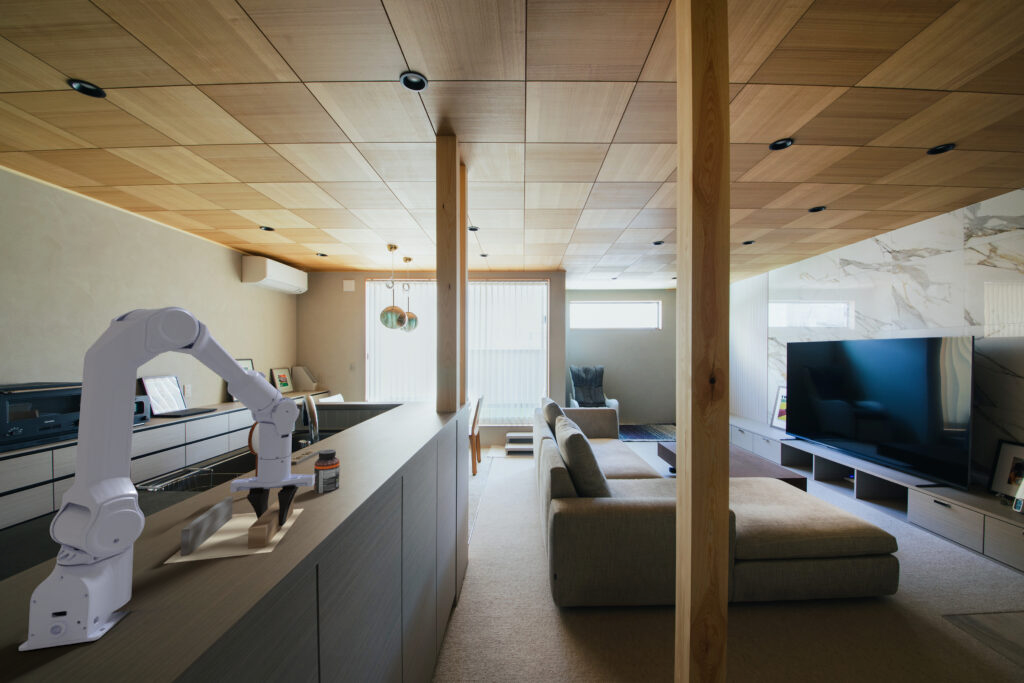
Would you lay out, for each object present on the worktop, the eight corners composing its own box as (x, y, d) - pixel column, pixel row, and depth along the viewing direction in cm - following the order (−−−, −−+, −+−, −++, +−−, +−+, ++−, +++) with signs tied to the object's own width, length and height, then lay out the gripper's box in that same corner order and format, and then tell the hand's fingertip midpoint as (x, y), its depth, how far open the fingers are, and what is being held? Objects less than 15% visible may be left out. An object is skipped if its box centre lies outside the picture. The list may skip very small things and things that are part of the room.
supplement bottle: (314, 492, 101) (315, 449, 102) (338, 489, 104) (339, 447, 104) (313, 500, 96) (314, 454, 96) (339, 496, 98) (340, 452, 99)
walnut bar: (265, 547, 69) (265, 527, 69) (247, 549, 68) (248, 528, 69) (293, 512, 85) (293, 496, 85) (279, 513, 84) (279, 497, 84)
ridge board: (270, 560, 67) (271, 525, 68) (163, 572, 64) (164, 535, 64) (303, 515, 87) (304, 488, 87) (222, 522, 83) (223, 494, 83)
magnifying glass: (250, 506, 92) (253, 422, 93) (243, 506, 92) (245, 422, 93) (270, 493, 100) (272, 417, 101) (263, 494, 100) (265, 417, 101)
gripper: (319, 449, 83) (317, 513, 82) (242, 453, 79) (240, 520, 79) (310, 457, 76) (308, 527, 75) (226, 462, 72) (223, 535, 72)
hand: (273, 524), depth 76 cm, fingers closed on walnut bar, 3 cm apart
